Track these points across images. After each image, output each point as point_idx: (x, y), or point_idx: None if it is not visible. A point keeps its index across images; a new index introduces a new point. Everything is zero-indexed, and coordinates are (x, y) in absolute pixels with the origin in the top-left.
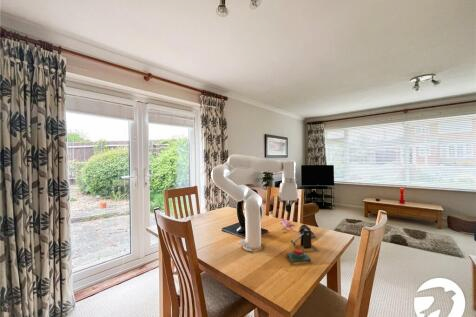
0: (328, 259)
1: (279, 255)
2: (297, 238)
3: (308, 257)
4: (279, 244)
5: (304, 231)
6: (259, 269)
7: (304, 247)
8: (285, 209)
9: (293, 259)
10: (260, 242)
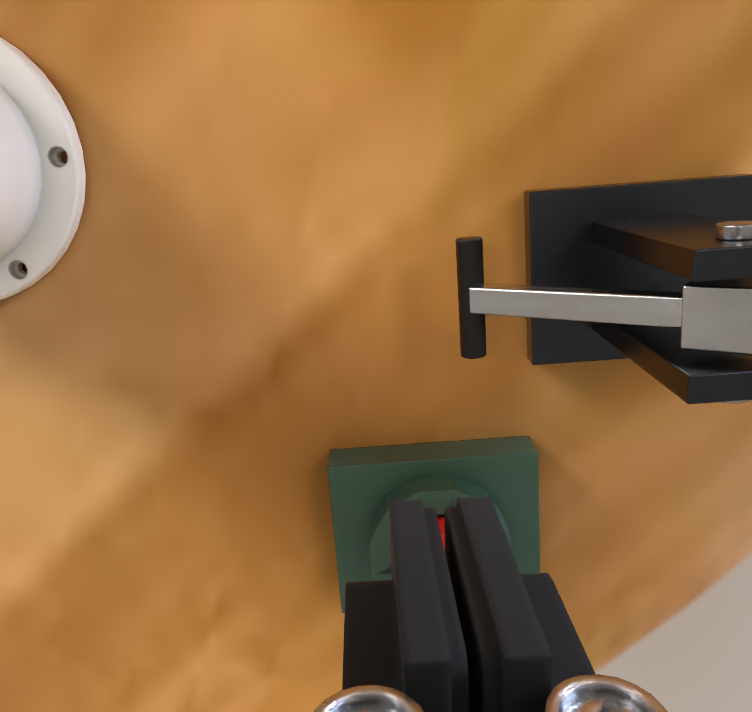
0: (746, 524)
1: (256, 404)
2: (549, 314)
3: (532, 570)
4: (322, 111)
5: (692, 401)
6: (19, 630)
7: (599, 334)
8: (345, 592)
9: None
10: (3, 226)
